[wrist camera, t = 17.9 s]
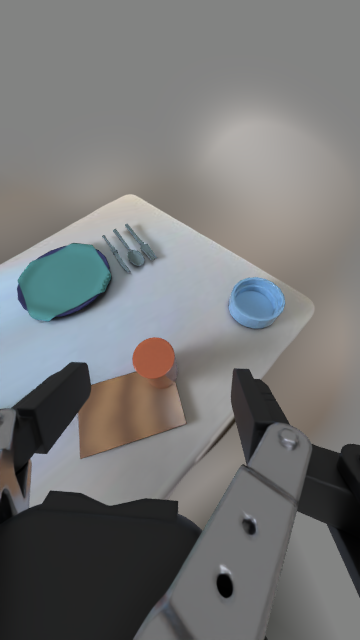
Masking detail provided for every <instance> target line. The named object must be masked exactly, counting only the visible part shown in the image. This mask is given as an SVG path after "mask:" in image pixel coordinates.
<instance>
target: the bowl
mask: <svg viewBox="0 0 360 640" xmlns="http://www.w3.org/2000/svg"><path fill="white" fill-rule="evenodd" d="M284 306H285V299H284V295H283V293H282V291H281V290H280V288H278V287H277V286H276V285H275V284H274V283H272V282H270V281H268V280H266V279H263V278H258V277H253V278H246V279H244V280H241V281H240V282H238V283H237V284H236V285H235V286H234V288H233V290H232V293H231V296H230V299H229V310H230V313H231V315H232V316H233V318H234V319H235V320H236V321H237V322H239V323H240V324H242V325H244V326H246V327H249V328H254V329H256V328H264V327H267V326H269V325H271V324H272V323H273V322H274V321H275V320H276V319H277V317H278V316H279V315H280V314H281V313H282V311H283V309H284Z"/></svg>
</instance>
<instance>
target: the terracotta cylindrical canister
mask: <svg viewBox="0 0 360 640" xmlns="http://www.w3.org/2000/svg"><path fill="white" fill-rule="evenodd" d="M133 366H134V368H135V370H136V371H137V373H138V374H139V375H140V376H141V377H142V378H143V379H145V380H146V381H147V382H148V383H149V384H150V385H151V386H152V387H154V388H157V389H165V388H168V387H169V386H171V385H172V384H173V383H174V382H175V380H176V379H177V376H178V367H177V363H176V358H175V354H174V350H173V348H172V346H171V345H170V344H169V343H168V342H167V341H166V340H164V339H161V338H149V339H146V340H144V341H143V342H141V343H140V344H139V345H138V346H137V347H136V349H135V351H134V353H133Z"/></svg>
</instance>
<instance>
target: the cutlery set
mask: <svg viewBox="0 0 360 640" xmlns="http://www.w3.org/2000/svg"><path fill="white" fill-rule="evenodd" d="M125 226H126V228H127V229H128V230H129V231H130V233H131V234H132V235H133V236H134V238H135V239H136V240H137V241H138V242H139V243H140V244H141V250H142V251H143V252H144V253H145V254H146V255H147V256H148V257H149V259H150V260H152V258H153V259H155V258H157V257H156V256H155V254H154V253H153V251H152V250H151V248H150V247H149V245H148V244H144V242H142V241H141V240H140V239H139V238H138V236H137V235H136V234H135V233H134V232H133V230H132V229H131V228H130V226H129V225H128V224H125ZM113 232H114V233H115V234H116V235H117V236H118V238H119V239H120V240H121V241H122V243H123V244H124V245H125V246H126V248H127V249H128V250H129V252H128V258H129V261H130V262H132V263H133V264H134V265H138V266H141V265H143V264H144V257H143V255H142V254H141V253H140V252H138V251H136V250H130V248H129V247H128V245H127V244H126V243H125V241H124V240H123V238H122V237H121V235H120V234H119V233H118V231H117V230H116V229H114V230H113ZM102 237H103V238H104V239H105V240H106V241H107V243H108V245H109V246H110V248H111V251H112V252H113V254H114V255H116V258H117V260H118V261H119V263H120V264H121V266H122V267H123V268H124V270H125V271H127V272H130V270H129V269H128V267H127V266H126V265H125V263H124V262H123V260H122V259H121V258H120V256H119V255H118V252H117V250H115V247H113V246H112V245H111V244H110V243H109V241H108V240H107V239H106V237H105V235H103V236H102ZM149 255H150V256H151V257H152V258H151V257H150V256H149ZM152 255H153V256H154V257H155V258H154V257H153V256H152ZM110 280H111V273H110V271H109V264H108V262H107V259H106V257H105V256H104V255H103V254H102V253H101V252H100V251H99V250H97V249H95V248H94V247H93V245H88V244H79V243H72V244H70V245H68V246H63V247H60V248H57V249H54V250H51V251H49V252H48V253H46V254H44V255H42V256H41V257H39V258H38V259H37V260H34V261H32V262H31V263H29V265H28V266H27V267H26V269H25V270H24V272H23V273H22V274H21V276H20V277H19V279H18V283H19V284H18V288H17V292H18V300H19V302H20V303H21V305H22V306H23V308H24V309H25V310H27V311H28V312H29V314H30V316H31V317H32V318H34V319H36V320H44V321H48V322H49V321H50V320H51V319H52V318H53V317H59V316H66V315H68V314H71V313H73V312H76V311H79V310H81V309H82V308H84V307H85V306H87V305H88V304H90V303H91V302H93V301H94V300H95V299H96V298H97V296H98V295H99V294H100V293H101V292H105V291H106V288H107V285H108V284H109V281H110Z"/></svg>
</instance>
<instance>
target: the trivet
mask: <svg viewBox="0 0 360 640" xmlns="http://www.w3.org/2000/svg"><path fill="white" fill-rule="evenodd" d="M78 419H79V442H80V459H82V458H85V457H88V456H91V455H94V454H97V453H100V452H103V451H106V450H109V449H112V448H115V447H118V446H121V445H125V444H128V443H131V442H134V441H137V440H140V439H143V438H146V437H149V436H152V435H155V434H158V433H161V432H164V431H167V430H170V429H173V428H176V427H179V426H182V425H185V424H187V423H186V419H185V415H184V412H183V408H182V404H181V401H180V397H179V393H178V390H177V386H176V382H174V383H173V384H172V385H171V386H169V387H168V388H165V389H157V388H154V387H152V386H151V385H150V384H149V383H148V382H147V381H146V380H145V379H143V378H142V377H141V376H140V375H139V374H138V373H137V372H133V373H130V374H127V375H123V376H120V377H116V378H113V379H110V380H106V381H103V382H100V383H96V384H93V385H91V393H90V396H89V398H88V400H87V401H86V402H85V404H84V405H83V406H82V408H81V409H80V410H79V412H78Z"/></svg>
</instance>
